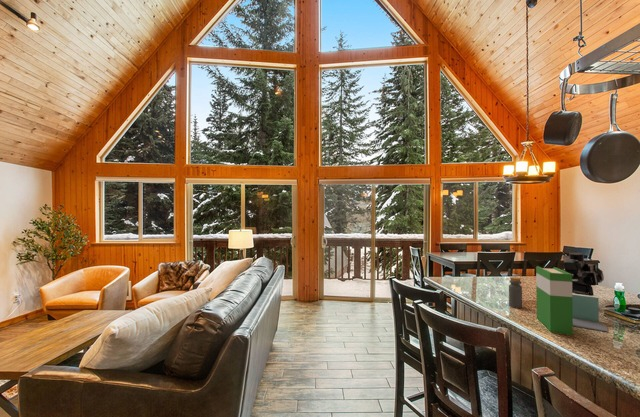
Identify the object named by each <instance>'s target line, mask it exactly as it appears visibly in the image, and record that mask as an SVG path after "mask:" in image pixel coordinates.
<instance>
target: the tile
mask: <svg viewBox="0 0 640 417" xmlns="http://www.w3.org/2000/svg"><path fill="white" fill-rule="evenodd" d="M599 303H600V302H599V296H596V295H594V296H589V295H581V294H574V293H572V307H573V318H576V319H582V320H588V321H594V322H600V321H599V320H600V319H599V318H600V314H599V312H600V310H599V309H600V307H599V306H600V305H599Z"/></svg>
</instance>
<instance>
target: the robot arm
mask: <svg viewBox="0 0 640 417" xmlns="http://www.w3.org/2000/svg"><path fill="white" fill-rule="evenodd" d="M568 254H569V255H568V256H569V257H568V258H566V259H564V261H563V262H562V265H563V267H564V269H563V271H565V272H568V273H570V274H572V293H573V294H581V295H589V296H595V295H594V289H593V286H596V285H597V284H598V283H599V284H600V283H601V284H602V282H603V281H604V279H605V278H604V277H605V276H604V273H603V271H602V269H600V268H599V267H598V265H597V264H595V263H591V262H590V263H588V262H586V263H585V260H584V259H585V258H584V257H585V256H584V255H585V253H582V252H569V253H568Z"/></svg>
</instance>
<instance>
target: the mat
mask: <svg viewBox="0 0 640 417" xmlns="http://www.w3.org/2000/svg"><path fill="white" fill-rule="evenodd" d="M573 328H582V329H586V330H592V331H596V332H604V333H608V332H609V331H608V328H607V325H606V323H605V322H600V321H599V322H594V321H588V320H582V319H576V318H573Z"/></svg>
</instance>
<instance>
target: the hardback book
mask: <svg viewBox="0 0 640 417" xmlns="http://www.w3.org/2000/svg"><path fill="white" fill-rule="evenodd" d="M535 270H536V271H535V272H536V274H535V276H536V278H535V279H536V283H535V284H536V319H538V320H539V321H540V322H541V323H542V324H543V325H544V326H545V327H546V328H547V329H548V330H549V331H550V332H554V333H553V334H558V333H559V334H560V335H567V334H568V335H569V336H573V335H574V333H573V332H574V330H573V328H574V326H573V307H572V274H570V273H568V272H565V271H564V269H560V268H558V267H555V266H553V267H552V268H543V267H541V266H538V265H537V266H536V268H535ZM539 321H538V322H539ZM540 322H539V323H540ZM541 323H540V324H541ZM542 324H541V325H542ZM543 325H542V326H543ZM544 326H543V327H544ZM545 327H544V328H545ZM546 328H545V329H546ZM547 329H546V330H547ZM548 330H547V331H548ZM549 331H548V332H549ZM550 332H549V333H550Z"/></svg>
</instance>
